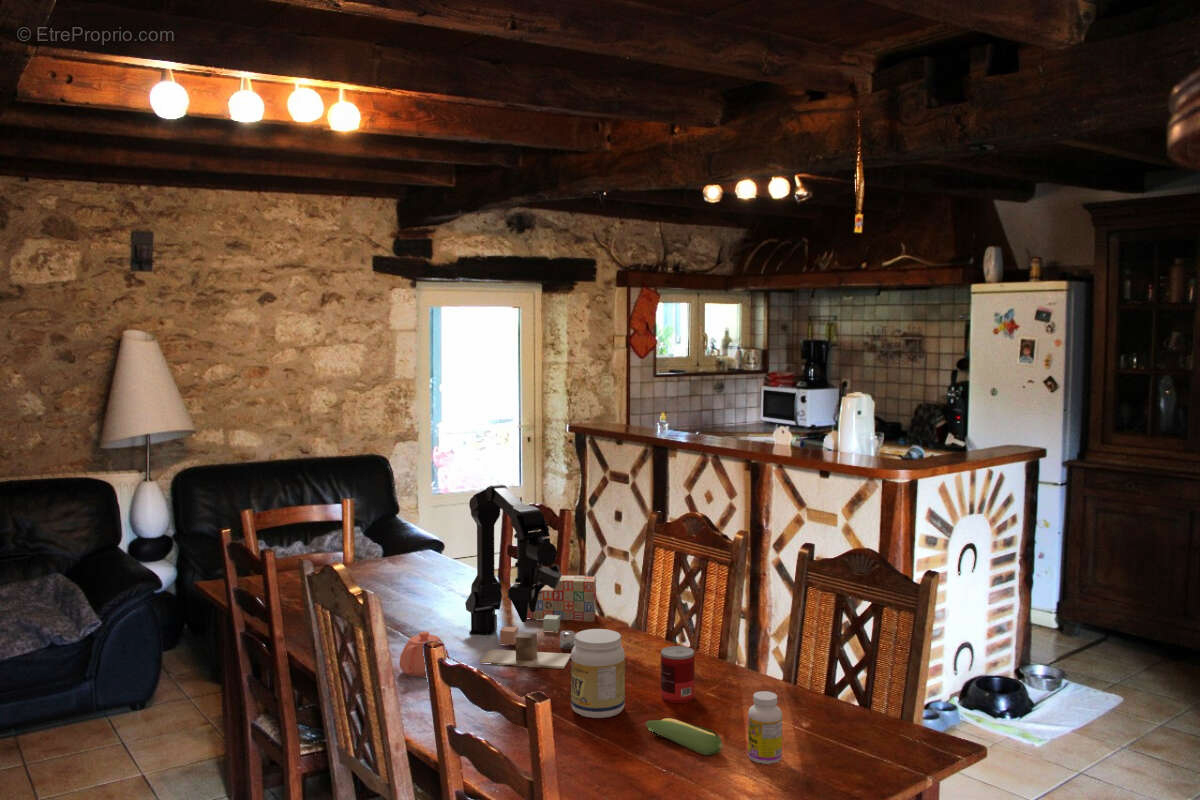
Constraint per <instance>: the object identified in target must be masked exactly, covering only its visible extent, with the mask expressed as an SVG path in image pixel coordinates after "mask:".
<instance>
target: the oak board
mask: <svg viewBox="0 0 1200 800" xmlns="http://www.w3.org/2000/svg"><path fill="white" fill-rule="evenodd" d="M569 659H570V660H571V653H565V652H564V653H563V652H545V651H537V656H536V657H535V659H534V660H533V661H523V660H516V650H510V649H509V650H508V649H507V650H506V649H504V650H503V649H490V650H489V651H487V653H486V654H485V655H484V656H483V657H482V658H481V659H480V661H479V664H480V663H491V664H500V665H499V666H504V665H514V666H513V667H522V666H527V667H526V668H541V667H542V669H543V668H544V669H561V670H563V669H565V668H566V666H567V664H568V663H569V661H570V660H569Z"/></svg>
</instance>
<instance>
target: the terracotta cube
mask: <svg viewBox="0 0 1200 800" xmlns="http://www.w3.org/2000/svg"><path fill="white" fill-rule="evenodd" d="M518 634H519V627H517V626H503V627H502V628H501V629H500V630H499V643H500V644H505V645H504V646H509V645H510V644H511V645H515V643H516V636H517V635H518ZM500 644H499V645H500ZM506 644H507V645H506ZM508 644H509V645H508ZM515 646H516V645H515Z"/></svg>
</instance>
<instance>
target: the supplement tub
mask: <svg viewBox="0 0 1200 800" xmlns="http://www.w3.org/2000/svg"><path fill="white" fill-rule="evenodd" d="M621 638H622V635H621V634H620V633H619V632H618V631H615V630H611V629H606V628H605V629H604V628H590V629H584V630H581V631H578V632H577V633H575V641H574V644H575V646H574V647H573V649H571V650H570V651H571V652H570V654H571V658H570V705H571V709H572V710H573V712H575V713H576V714H578V715H579V714H580V716H582V717H586V718H590V717H591V718H592V719H604V718H606V717H607V718H610V717H611V718H612V717H613V716H617V715H618V714H620V713H621V712H622V711H623V710H624V707H625V705H626V701H625V700H626V699H625V698H626V695H625V694H626V693H625V692H626V691H625V685H626V684H625V683H626V682H625V677H626V674H625V673H626V672H625V670H626V669H625V667H626V666H625V665H626V663H625V662H626V658H625V657H626V655H625V654H626V652H625V650H624V648H623V647H622V639H621Z"/></svg>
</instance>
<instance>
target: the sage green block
mask: <svg viewBox="0 0 1200 800" xmlns="http://www.w3.org/2000/svg"><path fill="white" fill-rule="evenodd" d="M542 621H543V622H542V627H543V628H542V629H543V631H553V632H557V631H558V630H559V628H560V629H561V621H560V615H546V616H545V617H544V618H543V620H542ZM543 631H542V632H543ZM559 631H560V630H559ZM559 631H558V632H559Z"/></svg>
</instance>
